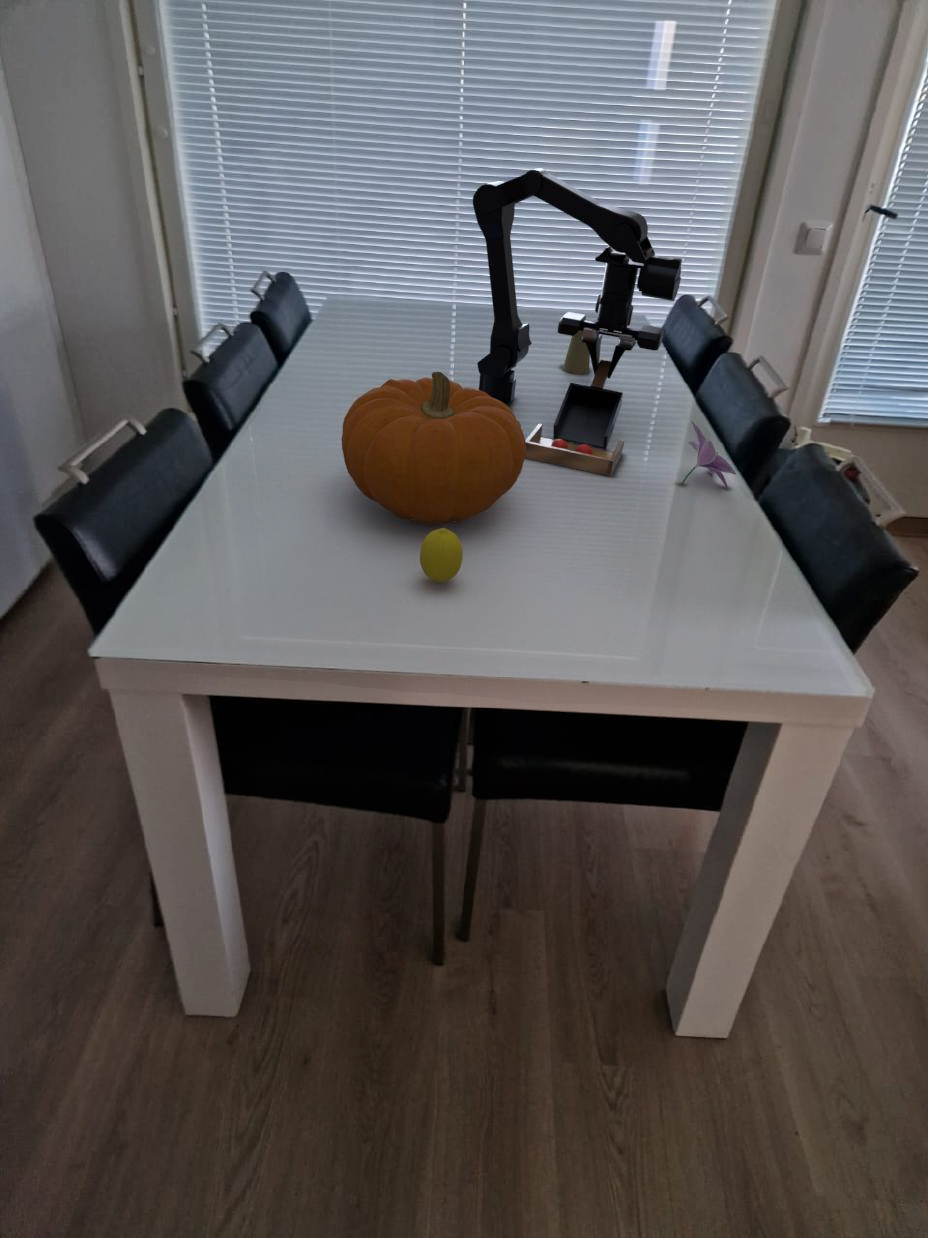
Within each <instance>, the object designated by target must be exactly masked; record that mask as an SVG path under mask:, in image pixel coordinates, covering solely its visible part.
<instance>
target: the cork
mask: <svg viewBox="0 0 928 1238" xmlns="http://www.w3.org/2000/svg"><path fill="white" fill-rule="evenodd" d="M586 321H590V320H589V319H586ZM582 337H583V331H580V330H579V331H578V333H576V334H575V335H574V336H571V338H570V342H569V345H568V347H567V348H568V349H567V351H566V355H565V359H564V362H563V365H562V369H563V371H565V372H567V373H569V374H570V373H571V374H576V375H577V374H578V375H585V374H588V373H590V361H591V357H590V354H589V351H588V348H587V346H586V343H583V342H581V339H582Z"/></svg>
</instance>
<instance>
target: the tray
mask: <svg viewBox="0 0 928 1238" xmlns="http://www.w3.org/2000/svg"><path fill="white" fill-rule="evenodd" d="M543 427H544V426H543V423H538V424H537V425H536V426H535V427H534V429H533V430H532V431H531V432H530V434H529V435H528V436H527V437H526V438H525V442H526V456H525V459H529V460H533V461H538V462H542V463H548V464H552V465H556V466H557V465H558V466H561V467H566V468H571V469H575V470H579V471H583V472H584V471H585V472H587V473H588V472H589V473H593V474H598V475H603V476H607V477H611V476H612V475H613V473H614V471H615V469H616V467H617V465H618V463H619V461H620V459H621V457H622V455H623V450H624V446H625V441H624V440H619V442H618V443H617V445H616V447H615V449H614V450H613V451H608V450H605V449H600V448H595V447H591V449H592V455H590V454H585V453H581V452H576V451H575V450H576V448H577V447H578V446H579V445H580V444H576V443H571V442H566V443H567V444H568V450H566V449H562V448H557V447H552V446H551V445H552V443H553V442H554V441H555V440H556V439H553V438H547V437H542V432H543Z"/></svg>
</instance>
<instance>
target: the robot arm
mask: <svg viewBox="0 0 928 1238" xmlns="http://www.w3.org/2000/svg"><path fill="white" fill-rule="evenodd" d="M532 197H535V198H537V199H539V200H540V201H543V202H544V203H546V204H548V205H549V206H552V207H553V208H555V209H557V210H559V211H560V212H562V213H564V214H566V215H568V216H570V217H572V218H574V219H575V220H576V221H579V222H580V223H582V224H584V225H586V226H587V227H589V229H592V230H593V231H594V233H595V234H596V235H597V236H598V237H599V238H600V239H601V240H602V241H603V242H604V243H605V244H606V245H608V246H607V247H605V248H604V249H603V251H602V252H600V254H598V255H597V256H595V258H594V260H595V262H598V263H604V264H605V268H604V273H603V279H602V285H601V291H600V294H598V297H597V300H596V303H595V308H594V312H595V313H596V314H597V315H596V321H591V320H589V321H586V320H587V314H583V313H578V312H572V311H567V312H566V313H565V314H564V315H562V317H561V318H560V319H559V321H558V324H557V334H559V335H565V336H571V337H572V336H574V335H575V334H576V333H578V331H579V330H580V331H583V337H582V339H581V342H583V343H586V346H587V348H588V351H589V354H590V361H591V365H592V370H593V371H592V372H593V377H594V376H595V373H596V371H597V368H598V365H599V363H600V360H601V359H600V358H601V344H602V341H603V340H602V339H603V336H608V337H614V338H618V340H619V341H618V342H617V343H616V344H615V347H614V350H613V353H612V356H611V357H612V358H611V360H610V361H611V364H610V368H609V371H608V377H607V379H608V380H610V379H611V377H612V375H613V373H614V372H615V370H616V367H617V366H618V363H619V362H620V360H621V358H622V357H623V355H624V353H625V352H626V351H628V352H629V351H630V352H631V351H632V350H633V349H634V347H635V345H636V344H637V346H638V348H639V349H644V350H648V351H659V349H660V347H661V345H662V343H663V339H664V334H665V331H664V330H663V327H659V326H654V325H647V324H643V325H642V327H641V328H640V329H637V328H631V327H630V326H631V322H632V316H633V312H634V307H635V306H634V305H633V298H634V293H635V289H636V288H637V289H638V292H640V293H641V296H643V297H648V298H654V299H658V300H665V301H669V302H674V301H675V300H676V297H677V296H678V293H679V292H678V291H679V288H680V285H681V282H682V281H681V280H682V277H681V276H682V275H681V274H682V263H683V259H682V258H678V257H665V256H659V255H656V252H655V250H654V248H653V245H652V244H651V242H650V241H651V240H650V239H649V236H648V232H649V226H648V222H647V219H646V218H645V217H644V216H643V214H640V213H639V212H635V211H632V210H630V209H626V208H622V207H618V206H613V205H609V204H606V203H604V202H601V201H599V200H598V199H596V198H594V197H592V196H590V195H589V194H587V193H585V192H584V191H581V190H579V188H576V187H574V186H572V185H570V184H569V183H566V182H565V181H563V180H561V179H559V178H558V177H557V176H554V175H552V174H550V172H548V171H547V170H546V169H545V168H541V167H539V168H538V167H537V168H535V169H530V170H528V171H527V172H526V173H524V174H520V175H519V176H517V177H514V178H512V179H509V180H506V181H503V180H497V181H493V182H489V183H485V184H482V185H480V186H479V187H478V188H477V189H476V191H474V194H473V196H472V208H473V211H474V215H475V219H476V222H477V225H478V227H479V229H480V231H481V233H482V235H483V238H484V241H485V247H486V256H487V265H488V273H489V274H488V275H489V285H490V293H491V302H492V310H493V324H492V329H491V334H490V338H489V339H490V340H489V341H490V342H489V353H488V354H486V356H484V357H483V358H482V359H480V360H479V361H478V362H477V363H476V365H477V369H478V373H479V382H478V390H480V391H483V392H485V393H486V394H488V395H489V396H491V397H492V398H495V399H497V400H499V401H501V402H502V403H504V404H505V405H507V406H509V405H510V404H511V402H512V401H513V400H514V399H515V395H516V386H517V379H516V378H515V370H513V369H514V368H516V367H517V366H518V363H520V362H521V361H522V360H524V359H525V357H526V356H527V355H528V353H529V349H530V346H531V345H532V344H533V343H532V341H531V338H530V323H525V324H524V323H523V322H522V321H521V318H520V317H519V314H518V313H519V312H518V303H517V293H516V291H517V290H516V283H515V282H516V281H515V272H514V262H513V250H512V241H511V234H512V229H513V224H514V220H515V210H516V209H515V208H516V204H518V203H521V202H523V201H525V200H528V199H529V198H532ZM638 272H639V273H638ZM628 326H629V327H628Z"/></svg>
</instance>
